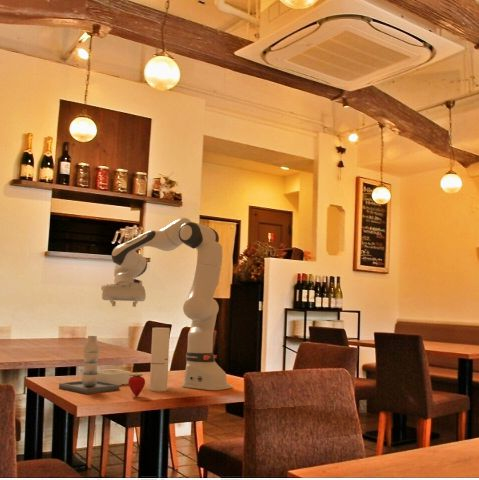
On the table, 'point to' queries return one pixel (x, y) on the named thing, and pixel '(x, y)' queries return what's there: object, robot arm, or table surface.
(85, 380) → the plastic bottle
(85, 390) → the grey tray
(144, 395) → the table surface
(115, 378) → the collar holder
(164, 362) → the white toy refrigerator
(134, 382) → the strawberry
